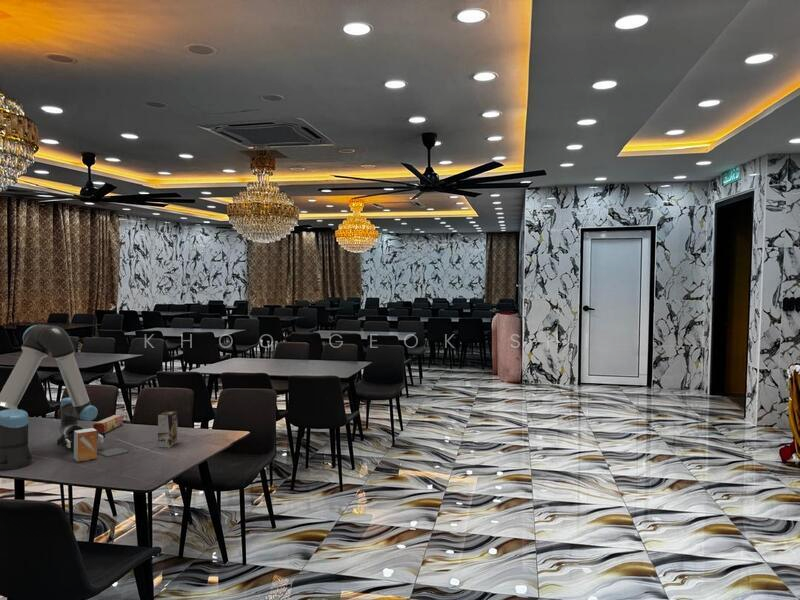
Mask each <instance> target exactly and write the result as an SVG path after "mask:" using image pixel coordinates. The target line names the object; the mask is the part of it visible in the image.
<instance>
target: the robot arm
mask: <svg viewBox="0 0 800 600" xmlns="http://www.w3.org/2000/svg"><path fill="white" fill-rule="evenodd" d="M22 342H23V344H22V345H21V351H22V353H21V355H20V357H19V359H18V360H17V362H16V364H15V365H14V367H13V369H12V371H11V373H10V374H9V377H8V378H7V380H6V382H5V384H4V385H3V387H2V390H1V391H0V471H4V470H5V471H7V470H16V469H19V468H24V467H27V466H29V465H31V464H33V463H34V456H33V454H32V451H31V449H30V446H29V420H30V419H29V414H28V412H27V411H26V410H24V409H20V408H19V409H18V405H19V403H20V401H21V400H22V399H23V396H24V394H25V392H26V391H27V390H28V389H27V388H28V387H29V384H30V383H31V382H32V379H33V377H34V375H35V373H36V371H37V369H38V368H39V366H40V364H41V362H42V360H43V359H45V358H48V357H49V354H50V355H51V357H52V359H54V360H55V361H56V364H57V366H58V369H59V371H60V374H61V377H62V379H63V382H64V385H65V388H66V390H67V391H66V392H67V394H68V397H64V398H62V399H61V400H60V424H59V425H58V431H59V432H60V437H59V438H57V440H56V443H57V445H56V446H60V445H61V447H65V446H66V447H67V448H68V449H71V447H72V446H71V443H74V431H76V430H82V429H84V428H83V427H81V426H80V425H79V420H80V421H83V422H91V421H93V420H95V419H96V418H97V416H98V411H99V410H98V409H97V407H96V406H94V405H92V403H91V400H90V398H89V395H88V391H87V389H86V385H85V383H84V380H83V378H82V375H81V372H80V369H79V364H78V363H77V360H76V357H75V352H76V349H75V347H74V344H73V341H72V340H71V337H70V336H69V334H68V333H67V331H66V330H64V329H63V328H62V327H60V326H58V325H48V324H47V325H46V324H36V325H35V324H34V325H31V326H30V327H28V328H27V329H26V330H25V331H24V332H23V335H22ZM105 439H106V433H104V432H97V441H98V442H100V443H102V444H103V443H104V440H105Z"/></svg>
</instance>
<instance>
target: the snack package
mask: <svg viewBox="0 0 800 600" xmlns="http://www.w3.org/2000/svg"><path fill="white" fill-rule="evenodd" d="M123 419H124V417H123V415H121V414H113V415H111V416H109V417H106V418H104V419H101V420H99V421H96V422H94V424H93V425H92V428H94V429H96V430H97V432H104V433H105V434H107V433H108V432H110V431H112V430H114V429H116V428H119V427H121V426H123V424H124V423H123ZM120 425H121V426H120Z"/></svg>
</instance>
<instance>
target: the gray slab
mask: <svg viewBox="0 0 800 600" xmlns="http://www.w3.org/2000/svg"><path fill="white" fill-rule="evenodd" d="M126 452H130V451H129V450H127V449H125V448H121V447H120V446H119V447H115V448H110V449H106V450H104V449H103V450H100V451H97V454H98V453H99V454H98V455H101V456H103V455H104V457H105V456H106V458H110V457H109V456H111V457H114V456H113V455H116V456H119V455H118V454H120V455H123V454H122V453H124V454H127V453H126Z"/></svg>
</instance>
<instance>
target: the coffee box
mask: <svg viewBox="0 0 800 600" xmlns="http://www.w3.org/2000/svg"><path fill="white" fill-rule="evenodd" d="M177 443H178V411H176V410H175V411H164V412H162V413H160V414H158V415H157V448H167V449H169V448H172V447H173V446H174V445H176V444H177Z"/></svg>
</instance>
